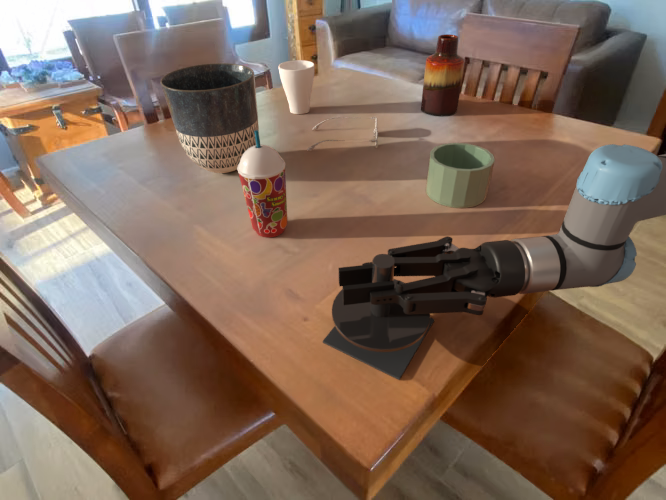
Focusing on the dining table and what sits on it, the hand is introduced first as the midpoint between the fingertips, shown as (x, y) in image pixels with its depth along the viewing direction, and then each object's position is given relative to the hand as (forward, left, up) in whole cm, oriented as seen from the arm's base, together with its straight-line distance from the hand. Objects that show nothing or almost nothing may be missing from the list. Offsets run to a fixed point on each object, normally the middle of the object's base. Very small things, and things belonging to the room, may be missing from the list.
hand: (341, 286), depth 55 cm
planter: (+52, -31, -10) cm, 61 cm away
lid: (-4, -4, -6) cm, 8 cm away
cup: (+58, -70, -10) cm, 91 cm away
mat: (-4, -4, -10) cm, 11 cm away
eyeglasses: (+35, -58, -10) cm, 68 cm away
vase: (+21, -91, -10) cm, 93 cm away
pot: (0, -47, -10) cm, 48 cm away
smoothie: (+26, -16, -10) cm, 32 cm away
